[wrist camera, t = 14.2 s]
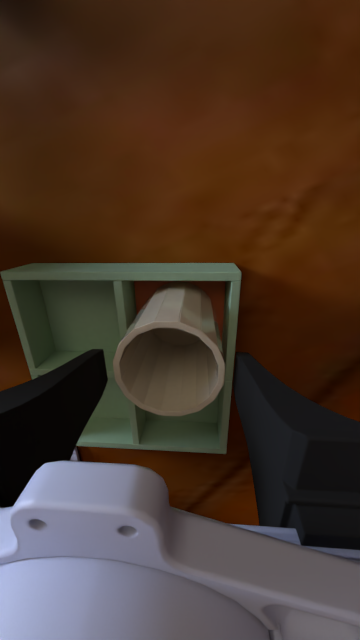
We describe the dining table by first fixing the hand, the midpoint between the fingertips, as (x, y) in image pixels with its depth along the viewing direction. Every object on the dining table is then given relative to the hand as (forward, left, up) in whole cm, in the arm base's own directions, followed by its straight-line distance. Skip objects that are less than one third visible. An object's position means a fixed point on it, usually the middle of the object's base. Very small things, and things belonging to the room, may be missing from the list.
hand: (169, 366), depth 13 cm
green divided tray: (-4, +4, -8) cm, 10 cm away
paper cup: (0, 0, -7) cm, 7 cm away
